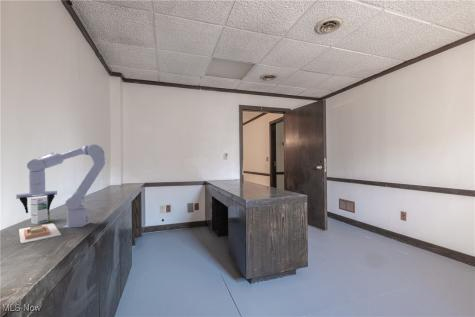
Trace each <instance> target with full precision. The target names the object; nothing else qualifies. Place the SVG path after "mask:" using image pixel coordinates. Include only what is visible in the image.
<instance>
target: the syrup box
mask: <svg viewBox="0 0 475 317" xmlns="http://www.w3.org/2000/svg"><path fill="white" fill-rule="evenodd" d="M50 218H51V216H50V209H49V210H47V196H38V197H30V219H31V221H30V223H31V224H35V225H41V224H44V223H47V222H51V220H50Z"/></svg>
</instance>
